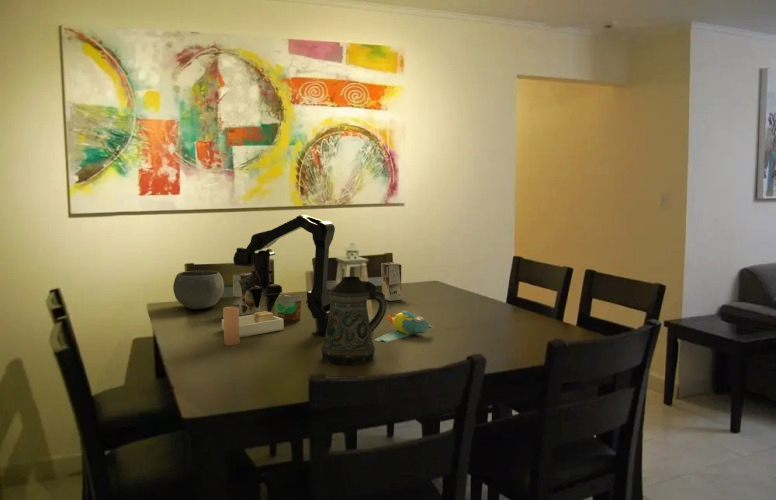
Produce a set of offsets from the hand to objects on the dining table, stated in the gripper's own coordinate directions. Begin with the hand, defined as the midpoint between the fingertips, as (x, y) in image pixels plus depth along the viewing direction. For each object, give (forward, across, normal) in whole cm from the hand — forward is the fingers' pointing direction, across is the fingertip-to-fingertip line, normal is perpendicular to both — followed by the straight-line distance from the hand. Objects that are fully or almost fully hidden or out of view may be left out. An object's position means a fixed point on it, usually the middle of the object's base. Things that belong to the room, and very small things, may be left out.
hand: (263, 309), depth 235 cm
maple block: (+6, 0, 0) cm, 6 cm away
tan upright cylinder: (+7, +12, -18) cm, 23 cm away
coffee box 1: (+7, -28, +8) cm, 30 cm away
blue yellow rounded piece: (+8, +40, +35) cm, 54 cm away
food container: (+7, -6, +13) cm, 16 cm away
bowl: (+7, -50, -3) cm, 50 cm away
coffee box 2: (+7, -13, +72) cm, 73 cm away
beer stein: (+7, +51, +3) cm, 52 cm away
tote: (+7, 0, -4) cm, 8 cm away
